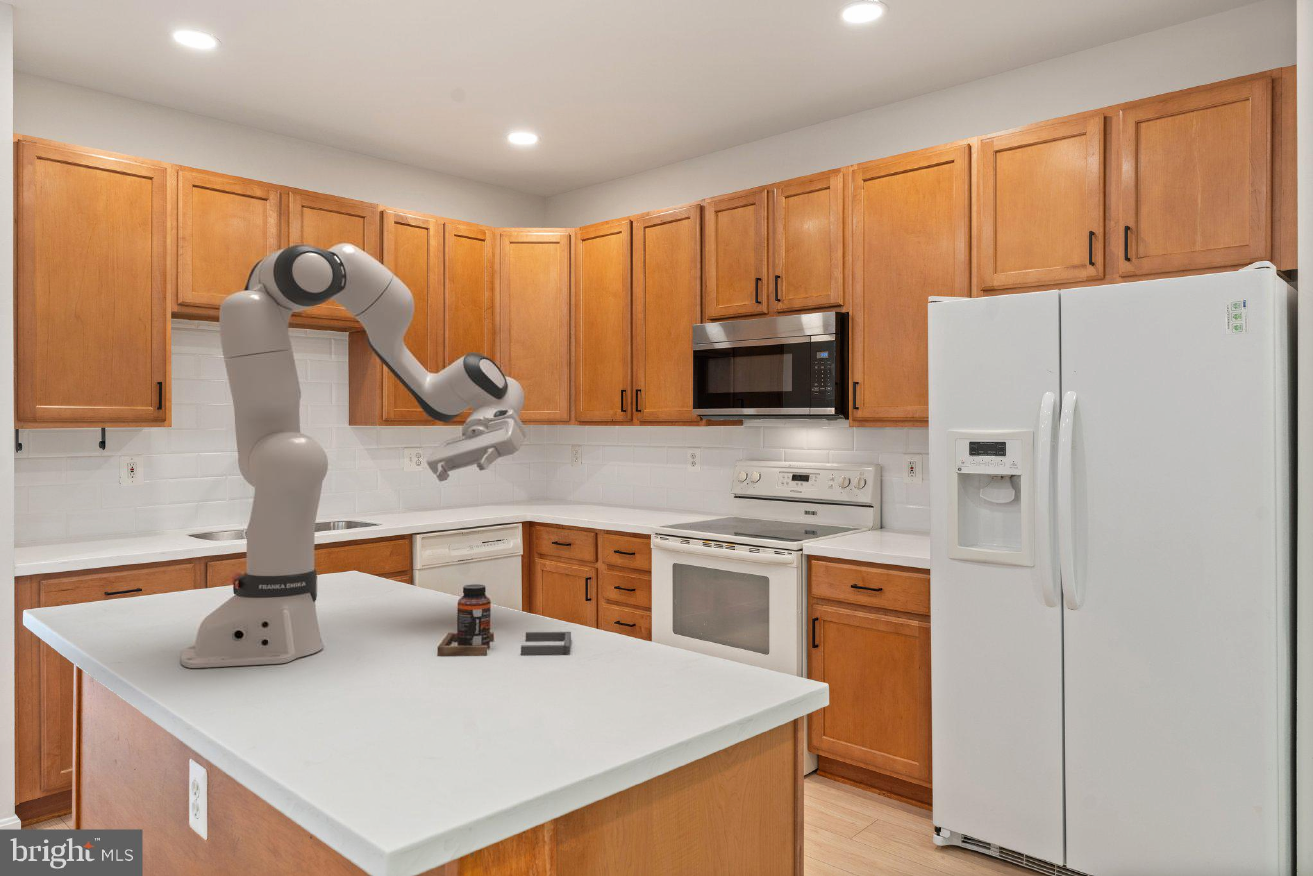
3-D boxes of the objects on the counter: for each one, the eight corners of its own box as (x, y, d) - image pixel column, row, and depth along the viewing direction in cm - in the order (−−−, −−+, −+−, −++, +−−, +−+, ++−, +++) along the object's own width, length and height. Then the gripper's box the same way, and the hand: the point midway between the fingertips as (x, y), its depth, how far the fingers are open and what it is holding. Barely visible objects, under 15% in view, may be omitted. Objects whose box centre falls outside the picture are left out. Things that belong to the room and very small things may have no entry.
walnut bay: (437, 655, 148) (437, 647, 148) (448, 640, 159) (448, 632, 159) (486, 655, 148) (486, 646, 148) (493, 640, 159) (494, 632, 159)
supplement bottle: (486, 652, 151) (486, 589, 151) (453, 651, 151) (453, 588, 151) (493, 644, 157) (493, 583, 157) (461, 643, 157) (462, 582, 157)
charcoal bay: (520, 655, 149) (520, 646, 149) (525, 639, 160) (526, 632, 160) (569, 654, 150) (569, 646, 150) (571, 639, 161) (571, 631, 160)
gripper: (436, 432, 174) (408, 472, 163) (519, 407, 167) (496, 447, 156) (451, 455, 177) (425, 497, 166) (534, 432, 170) (513, 473, 159)
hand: (460, 472), depth 161 cm, fingers open, 8 cm apart
